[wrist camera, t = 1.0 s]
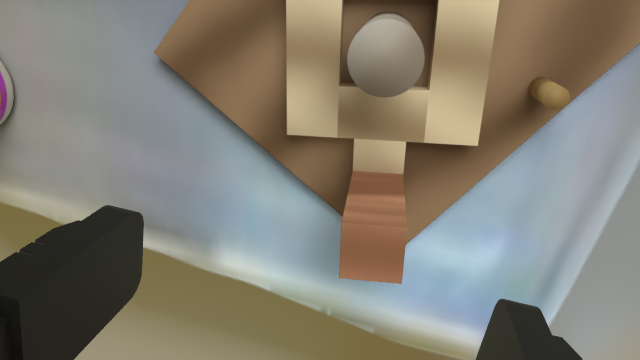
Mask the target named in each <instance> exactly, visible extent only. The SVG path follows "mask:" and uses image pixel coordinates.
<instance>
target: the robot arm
mask: <svg viewBox="0 0 640 360" xmlns="http://www.w3.org/2000/svg"><path fill="white" fill-rule="evenodd" d="M143 229H144V221H143V216H142V215H141V213H139V212H135V211H131V210H127V209H123V208H118V207H114V206H110V205H106V206H104V207H102V208H100V209H99V210H97V211H96V212H94V213H93V214H91V215H90V216H88V217H87V218H85V219H84V220H82V221H79V220H78V221H75V222H72V223H69V224H66V225H63V226H60V227H56V228H54V229H52V230H51V231H49V232H47V233H46V234H44V235H43V236H41V237H39V238H38V239H36V240H35V243H33V242H31V243H30V244H28V245H27V246H25V247H23V248H22V249H21V250H20V251H19V253H17V252H16V253H14V254H12V255H11V256H9V257H7V258H6V259H4V260H3V261H1V262H0V360H74V359H75V358H76V356H78V354H79V353H80V352H81V351H82V350H83V349H84V348H85V347H86V346H87V345H88V344H89V343H90V342H91V341H92V340H93V339H94V338H95V336H96V335H97V334H98V333H99V332H100V331H101V330H102V329H103V328H104V327H105V326H106V325H107V324H108V323H109V322H110V321H111V320H112V318H113V317H114V316H115V315H116V314H117V313H118V312H119V311H120V310H121V309H122V308H123V307H124V305H126V304H127V302H128V301H129V300H130V299H131V298H132V297H133V295H134V294H135V292H136V290H137V288H138V285H139V283H140V279H141V275H142V256H143ZM476 360H582V358H581V357H580V356H579V355H578V354H577V353H576V352H575V351H574V349H573V348H572V347H570V345H569V344H568V343H567V342H566V341H565V340H564V339H563V338H561V337H557V336H553V335H552V334H551V332H550V330H549V327H548V325H547V323H546V321H545V319H544V316H543V314H542V312H541V310H540V309H539V308H538V307H535V306H531V305H527V304H523V303H518V302H514V301H510V300H506V299H500V300H499V301H498V302H497V304H496V305H495V308H494V310H493V313H492V316H491V319H490V321H489V324H488V327H487V330H486V332H485V335H484V338H483V341H482V343H481V346H480V349H479V352H478V354H477V358H476Z"/></svg>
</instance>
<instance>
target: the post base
mask: <svg viewBox="0 0 640 360" xmlns="http://www.w3.org/2000/svg"><path fill="white" fill-rule="evenodd" d="M436 2H437V0H344V15H343V42H342V70H341V83H355V84H356V85H357V86H358V87H359V88H360V89H361V90H363V91H364V92H366V93H368V94H370V95H372V96H376V97H381V98H387V97H394V96H397V95H400V94H402V93H404V92H406V91H407V90H408V89H410V88H411V87H412V86H426V87H428V80H429V70H430V60H431V51H432V41H433V31H434V22H435V12H436ZM639 42H640V1H639V0H499V6H498V13H497V20H496V27H495V33H494V40H493V47H492V53H491V60H490V67H489V74H488V80H487V87H486V94H485V101H484V107H483V114H482V121H481V128H480V134H479V141H478V146H471V145H454V144H437V143H420V142H406V150H405V161H404V172H403V177H404V191H405V205H406V219H407V234H406V244H407V243H408V242H409V241H410V240H411V239H413V238H414V237H415V236H416V235H417V234H418V233H420V232H421V231H422V230H423V229H424V228H425V227H427V226H428V225H429V224H430V223H431V222H432V221H433V220H435V219H436V218H437V217H438V216H439V215H440V214H442V213H443V212H444V211H445V210H446V209H447V208H449V207H450V206H451V205H452V204H453V203H454V202H455V201H457V200H458V199H459V198H460V197H461V196H462V195H464V194H465V193H466V192H467V191H468V190H469V189H470V188H472V187H473V186H474V185H475V184H476V183H477V182H479V181H480V180H481V179H482V178H483V177H484V176H486V175H487V174H488V173H489V172H490V171H491V170H492V169H494V168H495V167H496V166H497V165H498V164H499V163H501V162H502V161H503V160H504V159H505V158H506V157H508V156H509V155H510V154H511V153H512V152H513V151H514V150H516V149H517V148H518V147H519V146H520V145H521V144H523V143H524V142H525V141H526V140H527V139H528V138H529V137H531V136H532V135H533V134H534V133H535V132H536V131H538V130H539V129H540V128H541V127H542V126H543V125H545V124H546V123H547V122H548V121H549V120H550V119H551V118H553V117H554V116H555V115H556V114H557V113H558V112H560V111H561V110H562V109H563V108H564V107H565V106H567V105H568V104H569V103H570V102H571V101H572V100H573V99H575V98H576V97H577V96H578V95H579V94H580V93H582V92H583V91H584V90H585V89H586V88H587V87H588V86H590V85H591V84H592V83H593V82H594V81H595V80H597V79H598V78H599V77H600V76H601V75H602V74H604V73H605V72H606V71H607V70H608V69H609V68H610V67H612V66H613V65H614V64H615V63H616V62H617V61H619V60H620V59H621V58H622V57H623V56H624V55H626V54H627V53H628V52H629V51H630V50H631V49H632V48H634V47H635V46H636V45H637V44H638V43H639ZM154 53H155V54H156V55H157V56H158V57H159V58H160V59H162V60H163V61H164V62H165V63H166V64H167V65H168V66H170V67H171V68H172V69H173V70H174V71H175V72H177V73H178V74H179V75H180V76H181V77H182V78H184V79H185V80H186V81H187V82H188V83H189V84H190V85H192V86H193V87H194V88H195V89H196V90H197V91H199V92H200V93H201V94H202V95H203V96H204V97H205V98H207V99H208V100H209V101H210V102H211V103H212V104H214V105H215V106H216V107H217V108H218V109H219V110H220V111H222V112H223V113H224V114H225V115H226V116H227V117H229V118H230V119H231V120H232V121H233V122H234V123H235V124H237V125H238V126H239V127H240V128H241V129H242V130H244V131H245V132H246V133H247V134H248V135H249V136H251V137H252V138H253V139H254V140H255V141H256V142H257V143H259V144H260V145H261V146H262V147H263V148H264V149H266V150H267V151H268V152H269V153H270V154H271V155H272V156H274V157H275V158H276V159H277V160H278V161H279V162H281V163H282V164H283V165H284V166H285V167H286V168H287V169H289V170H290V171H291V172H292V173H293V174H294V175H296V176H297V177H298V178H299V179H300V180H301V181H302V182H304V183H305V184H306V185H307V186H308V187H309V188H311V189H312V190H313V191H314V192H315V193H316V194H317V195H319V196H320V197H321V198H322V199H323V200H324V201H326V202H327V203H328V204H329V205H330V206H331V207H333V208H334V209H335V210H336V211H337V212H338V213H339V214H341V215H342V216H343V213H344V209H345V204H346V200H347V195H348V190H349V186H350V181H351V176H352V172H353V154H354V139H351V138H334V137H317V136H300V135H287V53H286V0H190V1H189V2H188V4H187V5H186V6H185V8H184V9H183V11H182V12H181V14H180V15H179V17H178V18H177V20H176V21H175V22H174V24H173V25H172V27H171V28H170V30H169V31H168V33H167V34H166V36H165V37H164V38H163V40H162V41H161V43H160V44H159V46H158V47H157V49H156V50H155V51H154ZM406 244H405V245H406Z"/></svg>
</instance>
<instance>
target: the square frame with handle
mask: <svg viewBox="0 0 640 360" xmlns="http://www.w3.org/2000/svg"><path fill="white" fill-rule="evenodd" d="M498 6H499V0H437V2H436V12H435V22H434V31H433V41H432V51H431V60H430V70H429V80H428V87H426V86H412V87H411V88H410V89H408V90H407V91H406V92H404V93H402V94H400V95H397V96H394V97H387V98H381V97H376V96H372V95H370V94H368V93H366V92H364V91H363V90H361V89H360V88H359V87H358V86H357V85H356V84H355V83H341V70H342V42H343V15H344V0H286V53H287V135H300V136H317V137H334V138H351V139H354V154H353V172H352V176H351V181H350V186H349V190H348V195H347V200H346V204H345V209H344V213H343V218H342V223H341V248H340V272H339V278H345V279H356V280H367V281H377V282H388V283H398V284H402V275H403V265H404V254H405V244H406V234H407V219H406V205H405V191H404V177H403V172H404V161H405V150H406V142H420V143H437V144H454V145H471V146H478V141H479V134H480V128H481V121H482V114H483V107H484V101H485V94H486V87H487V80H488V74H489V67H490V60H491V53H492V47H493V40H494V33H495V27H496V20H497V13H498Z"/></svg>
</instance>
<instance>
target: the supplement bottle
mask: <svg viewBox="0 0 640 360" xmlns="http://www.w3.org/2000/svg"><path fill="white" fill-rule="evenodd" d="M13 101H14V91H13V85H12V81H11V78H10V75H9V73H8V71H7V70H6V68H5V66H4V64H3V63H2V61H1V60H0V124H1V123H3V122H4V121H5V120H6V118H7V117H8V115H9V114H10V112H11V109H12V106H13Z"/></svg>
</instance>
